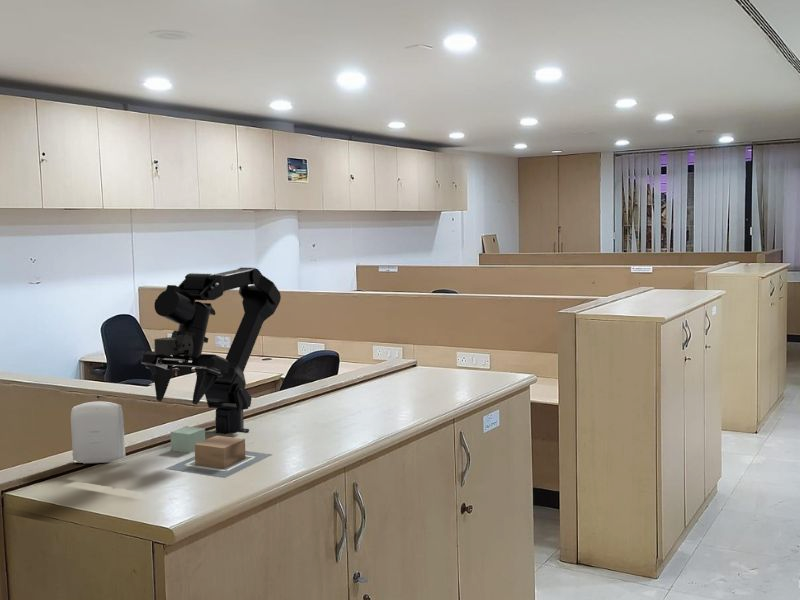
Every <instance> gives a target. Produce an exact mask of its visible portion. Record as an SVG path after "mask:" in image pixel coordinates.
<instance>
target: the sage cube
mask: <svg viewBox="0 0 800 600" xmlns="http://www.w3.org/2000/svg"><path fill="white" fill-rule="evenodd" d="M204 440H206V428H205V427H204V428H203V427H196V426H188V425H187V426H183V427H181V428H177V429H175V430H172V431H170V449H171V451H174V452H175V451H176V452H181V453H188V454H190V453H195V444H197V443H199V442H202V441H204Z"/></svg>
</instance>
